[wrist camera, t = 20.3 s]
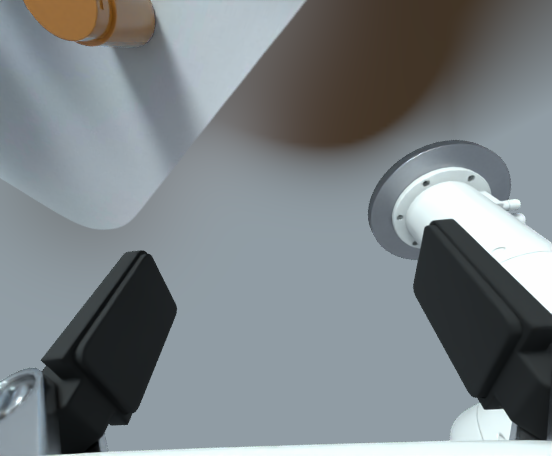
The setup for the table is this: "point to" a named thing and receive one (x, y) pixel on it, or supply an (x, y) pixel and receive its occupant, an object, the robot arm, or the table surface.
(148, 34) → the jar
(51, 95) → the table surface
